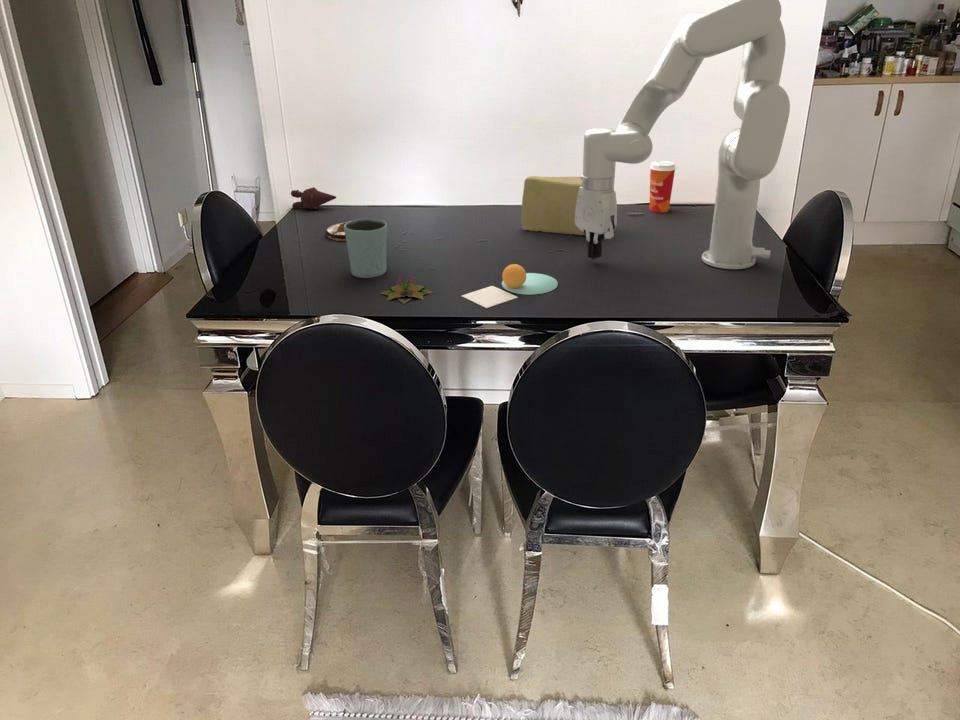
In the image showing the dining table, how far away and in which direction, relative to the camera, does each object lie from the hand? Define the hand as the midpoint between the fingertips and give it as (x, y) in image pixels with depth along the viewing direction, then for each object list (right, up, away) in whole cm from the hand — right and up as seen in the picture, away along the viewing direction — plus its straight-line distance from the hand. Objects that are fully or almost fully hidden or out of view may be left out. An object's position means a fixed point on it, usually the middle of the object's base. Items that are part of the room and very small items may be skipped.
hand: (594, 256), depth 184 cm
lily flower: (-45, -11, -14) cm, 48 cm away
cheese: (-6, +10, +24) cm, 27 cm away
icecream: (-80, +22, +50) cm, 97 cm away
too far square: (-26, -11, -17) cm, 33 cm away
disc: (-17, -8, -11) cm, 21 cm away
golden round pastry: (-65, +9, +26) cm, 71 cm away
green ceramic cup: (-55, -4, -1) cm, 56 cm away
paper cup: (+25, +19, +40) cm, 51 cm away
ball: (-20, -6, -14) cm, 26 cm away
